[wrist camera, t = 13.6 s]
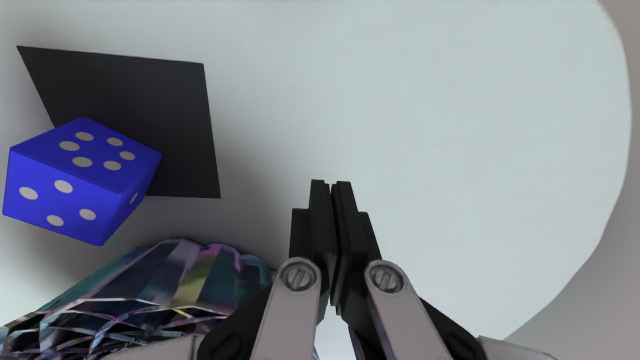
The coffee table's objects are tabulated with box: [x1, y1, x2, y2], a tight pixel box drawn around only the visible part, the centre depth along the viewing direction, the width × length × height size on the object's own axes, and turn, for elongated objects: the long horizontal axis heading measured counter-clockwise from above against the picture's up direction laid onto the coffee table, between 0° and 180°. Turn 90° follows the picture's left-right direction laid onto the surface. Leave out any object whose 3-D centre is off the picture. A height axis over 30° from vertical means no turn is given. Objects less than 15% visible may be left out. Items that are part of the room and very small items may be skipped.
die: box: [2, 116, 162, 246], centre depth 16 cm, size 5×5×5 cm
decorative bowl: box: [0, 237, 319, 360], centre depth 24 cm, size 26×28×10 cm
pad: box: [17, 46, 221, 199], centre depth 17 cm, size 10×10×1 cm
